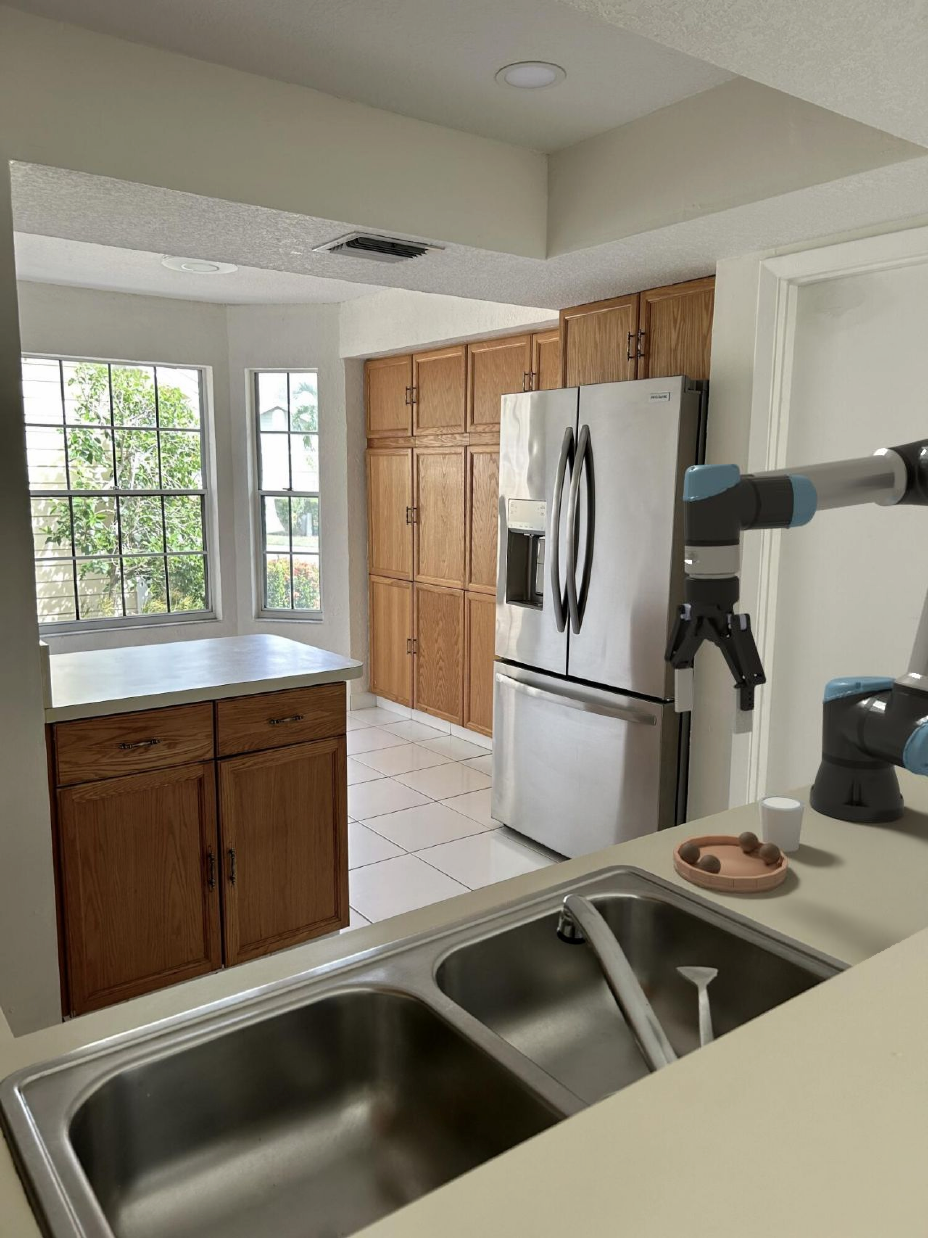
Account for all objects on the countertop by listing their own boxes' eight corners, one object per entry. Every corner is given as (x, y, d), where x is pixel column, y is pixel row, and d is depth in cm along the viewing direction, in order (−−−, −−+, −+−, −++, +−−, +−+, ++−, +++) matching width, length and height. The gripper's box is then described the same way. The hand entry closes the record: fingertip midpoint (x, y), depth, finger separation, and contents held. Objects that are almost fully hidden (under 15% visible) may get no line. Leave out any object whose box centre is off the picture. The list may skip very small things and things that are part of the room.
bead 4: (771, 857, 136) (771, 838, 136) (784, 865, 134) (785, 845, 133) (754, 861, 135) (755, 842, 135) (768, 869, 132) (768, 849, 132)
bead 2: (712, 869, 133) (712, 850, 132) (725, 877, 130) (725, 857, 129) (694, 873, 132) (695, 853, 131) (707, 881, 129) (707, 861, 128)
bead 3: (749, 846, 141) (750, 827, 140) (762, 853, 138) (763, 834, 138) (733, 849, 140) (734, 830, 139) (746, 856, 137) (746, 837, 137)
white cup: (806, 854, 140) (808, 811, 139) (759, 852, 141) (760, 808, 140) (799, 837, 146) (800, 796, 145) (754, 835, 148) (756, 794, 147)
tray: (739, 841, 145) (739, 828, 145) (811, 881, 130) (811, 866, 130) (653, 858, 140) (653, 844, 139) (717, 901, 125) (717, 886, 124)
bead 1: (692, 857, 137) (692, 838, 137) (704, 864, 134) (704, 845, 134) (675, 860, 136) (675, 841, 136) (687, 868, 133) (687, 848, 133)
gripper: (640, 570, 139) (642, 706, 142) (748, 585, 116) (747, 746, 119) (682, 566, 141) (682, 700, 145) (795, 580, 118) (793, 738, 122)
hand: (711, 721), depth 132 cm, fingers open, 13 cm apart
